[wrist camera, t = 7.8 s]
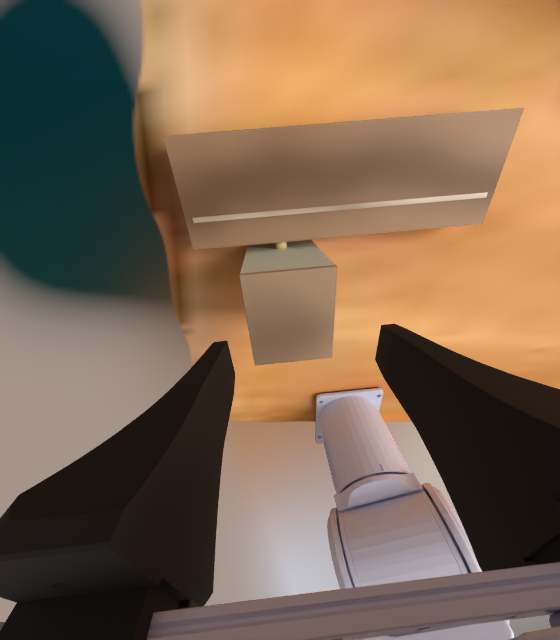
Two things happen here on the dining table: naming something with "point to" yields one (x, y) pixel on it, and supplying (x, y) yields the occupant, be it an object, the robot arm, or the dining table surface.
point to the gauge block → (289, 301)
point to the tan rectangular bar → (339, 177)
